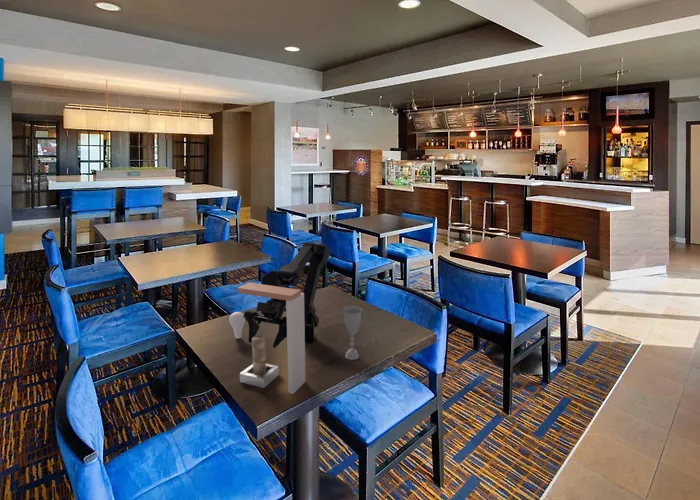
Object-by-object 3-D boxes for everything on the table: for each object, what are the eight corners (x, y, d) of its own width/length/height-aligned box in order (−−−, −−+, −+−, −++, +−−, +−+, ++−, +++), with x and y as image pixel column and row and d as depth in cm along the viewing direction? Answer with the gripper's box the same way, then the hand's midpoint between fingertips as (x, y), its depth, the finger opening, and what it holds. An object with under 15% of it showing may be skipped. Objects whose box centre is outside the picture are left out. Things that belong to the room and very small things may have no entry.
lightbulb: (242, 342, 166) (240, 315, 164) (227, 341, 168) (225, 314, 165) (248, 336, 172) (247, 310, 170) (234, 334, 173) (233, 309, 171)
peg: (265, 374, 143) (263, 335, 140) (266, 380, 139) (265, 340, 136) (253, 376, 142) (251, 336, 139) (254, 382, 138) (252, 341, 135)
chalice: (342, 352, 159) (342, 306, 155) (360, 351, 160) (361, 305, 156) (343, 361, 152) (343, 313, 148) (362, 360, 153) (363, 313, 149)
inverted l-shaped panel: (256, 370, 145) (252, 280, 138) (305, 381, 139) (304, 288, 132) (242, 381, 138) (237, 287, 131) (292, 394, 131) (290, 295, 124)
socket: (256, 369, 146) (255, 361, 145) (279, 374, 143) (278, 366, 142) (240, 382, 138) (239, 373, 137) (263, 387, 135) (263, 379, 134)
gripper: (244, 287, 144) (225, 330, 136) (293, 294, 137) (276, 340, 129) (259, 302, 153) (241, 343, 145) (305, 309, 146) (290, 353, 138)
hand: (261, 345), depth 139 cm, fingers open, 9 cm apart
